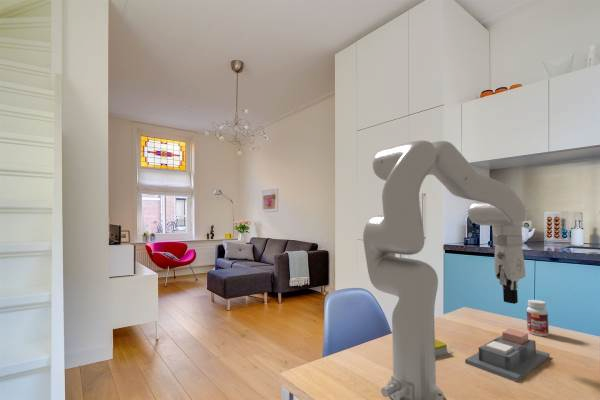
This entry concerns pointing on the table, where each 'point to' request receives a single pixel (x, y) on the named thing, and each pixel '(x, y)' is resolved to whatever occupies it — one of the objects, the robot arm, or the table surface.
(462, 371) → the table surface
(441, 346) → the emergency button
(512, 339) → the terracotta key
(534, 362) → the key panel
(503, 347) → the cream key
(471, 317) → the table surface
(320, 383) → the table surface
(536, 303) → the pill bottle
